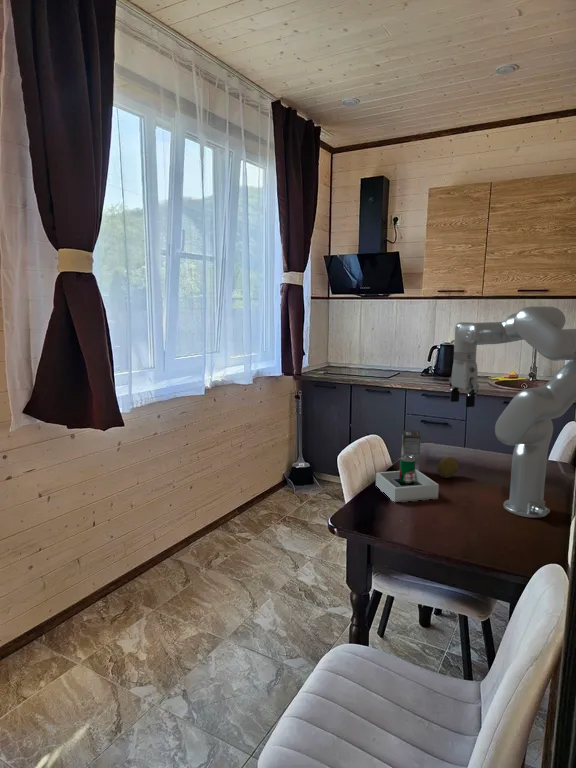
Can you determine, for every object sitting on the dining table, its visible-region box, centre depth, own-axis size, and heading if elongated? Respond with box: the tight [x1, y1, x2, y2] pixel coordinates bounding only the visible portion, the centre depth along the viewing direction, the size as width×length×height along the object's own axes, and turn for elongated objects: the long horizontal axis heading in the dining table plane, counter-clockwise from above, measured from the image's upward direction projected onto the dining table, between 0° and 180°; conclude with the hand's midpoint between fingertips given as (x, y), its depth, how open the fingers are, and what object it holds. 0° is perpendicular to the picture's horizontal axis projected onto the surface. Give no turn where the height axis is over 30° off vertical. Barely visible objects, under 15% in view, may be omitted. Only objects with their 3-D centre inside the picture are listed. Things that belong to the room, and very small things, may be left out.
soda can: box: [399, 455, 415, 486], centre depth 167 cm, size 5×5×12 cm
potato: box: [436, 456, 460, 479], centre depth 182 cm, size 7×8×8 cm
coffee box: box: [400, 429, 422, 472], centre depth 186 cm, size 9×6×16 cm
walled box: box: [375, 470, 440, 503], centre depth 168 cm, size 16×16×5 cm
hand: (462, 404), depth 177 cm, fingers open, 9 cm apart
